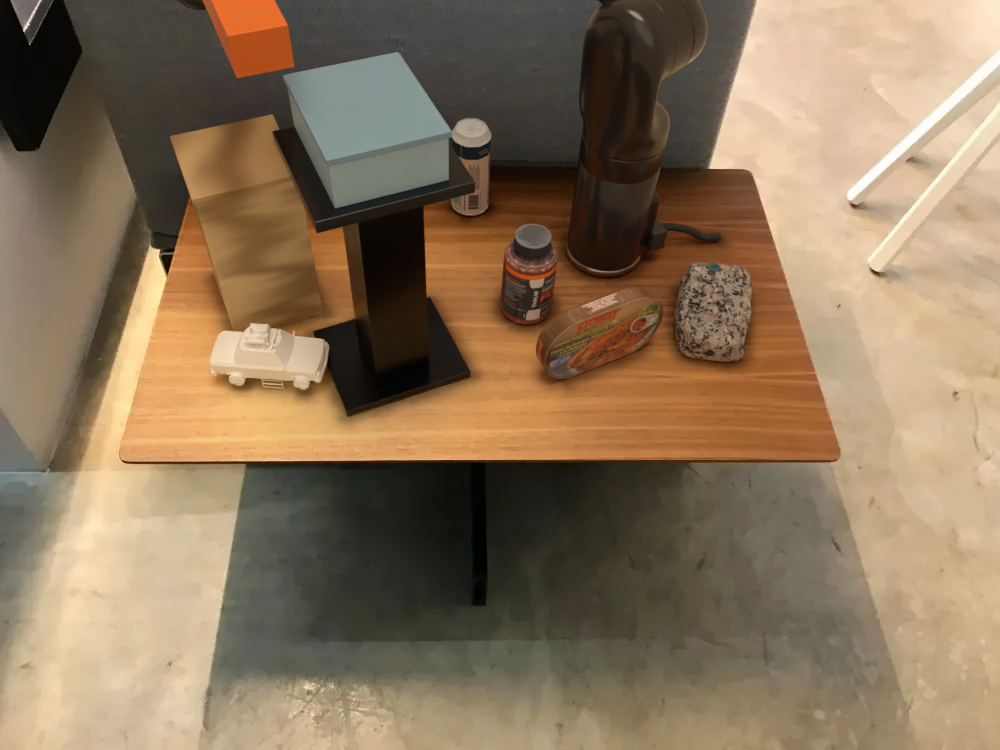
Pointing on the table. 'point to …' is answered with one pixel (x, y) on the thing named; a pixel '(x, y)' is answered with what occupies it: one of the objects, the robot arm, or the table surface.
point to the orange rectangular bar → (252, 35)
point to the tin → (598, 332)
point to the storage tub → (369, 128)
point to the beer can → (473, 163)
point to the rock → (713, 311)
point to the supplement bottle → (529, 275)
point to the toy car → (269, 356)
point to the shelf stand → (382, 287)
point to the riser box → (250, 222)
